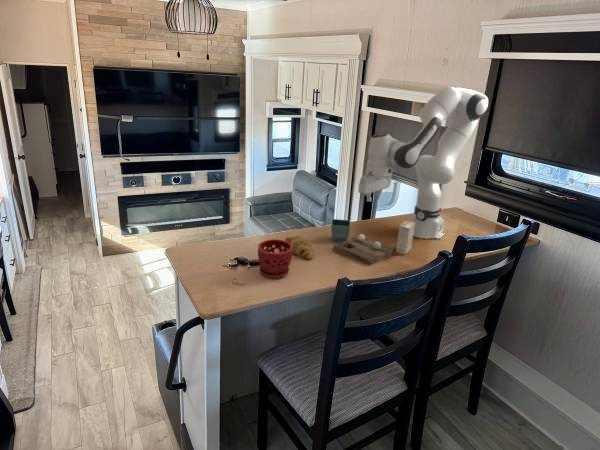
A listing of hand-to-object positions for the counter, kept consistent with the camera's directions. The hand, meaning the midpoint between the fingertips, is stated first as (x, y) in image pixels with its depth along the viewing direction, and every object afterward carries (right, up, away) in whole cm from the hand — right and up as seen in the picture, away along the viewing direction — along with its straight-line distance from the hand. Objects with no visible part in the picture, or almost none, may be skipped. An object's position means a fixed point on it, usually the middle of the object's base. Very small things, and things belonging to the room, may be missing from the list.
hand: (373, 200), depth 188 cm
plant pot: (-43, -30, -27) cm, 59 cm away
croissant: (-34, -23, -6) cm, 42 cm away
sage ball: (+1, -20, -6) cm, 21 cm away
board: (-5, -23, -3) cm, 24 cm away
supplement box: (+14, -23, 0) cm, 27 cm away
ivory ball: (-5, -17, +2) cm, 18 cm away
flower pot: (-14, -19, +9) cm, 25 cm away
